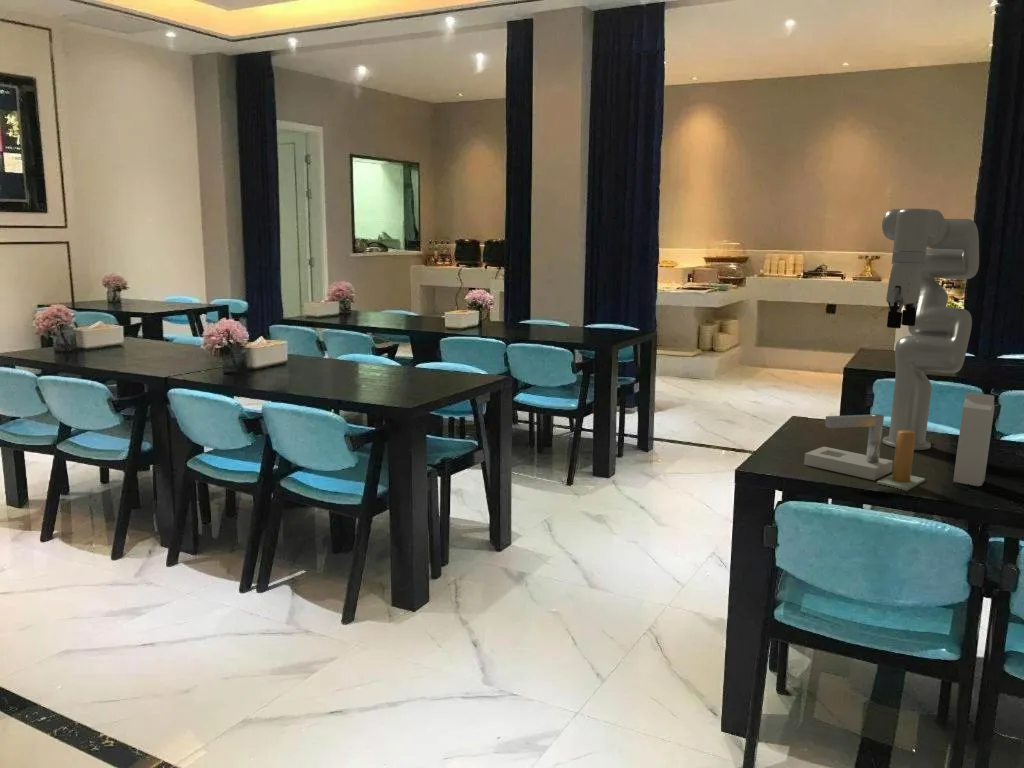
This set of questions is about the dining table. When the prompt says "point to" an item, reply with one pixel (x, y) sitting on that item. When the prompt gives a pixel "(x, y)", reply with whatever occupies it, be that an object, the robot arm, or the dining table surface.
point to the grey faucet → (862, 421)
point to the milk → (974, 439)
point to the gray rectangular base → (847, 463)
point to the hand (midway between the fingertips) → (900, 326)
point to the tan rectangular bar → (903, 455)
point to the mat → (901, 485)
